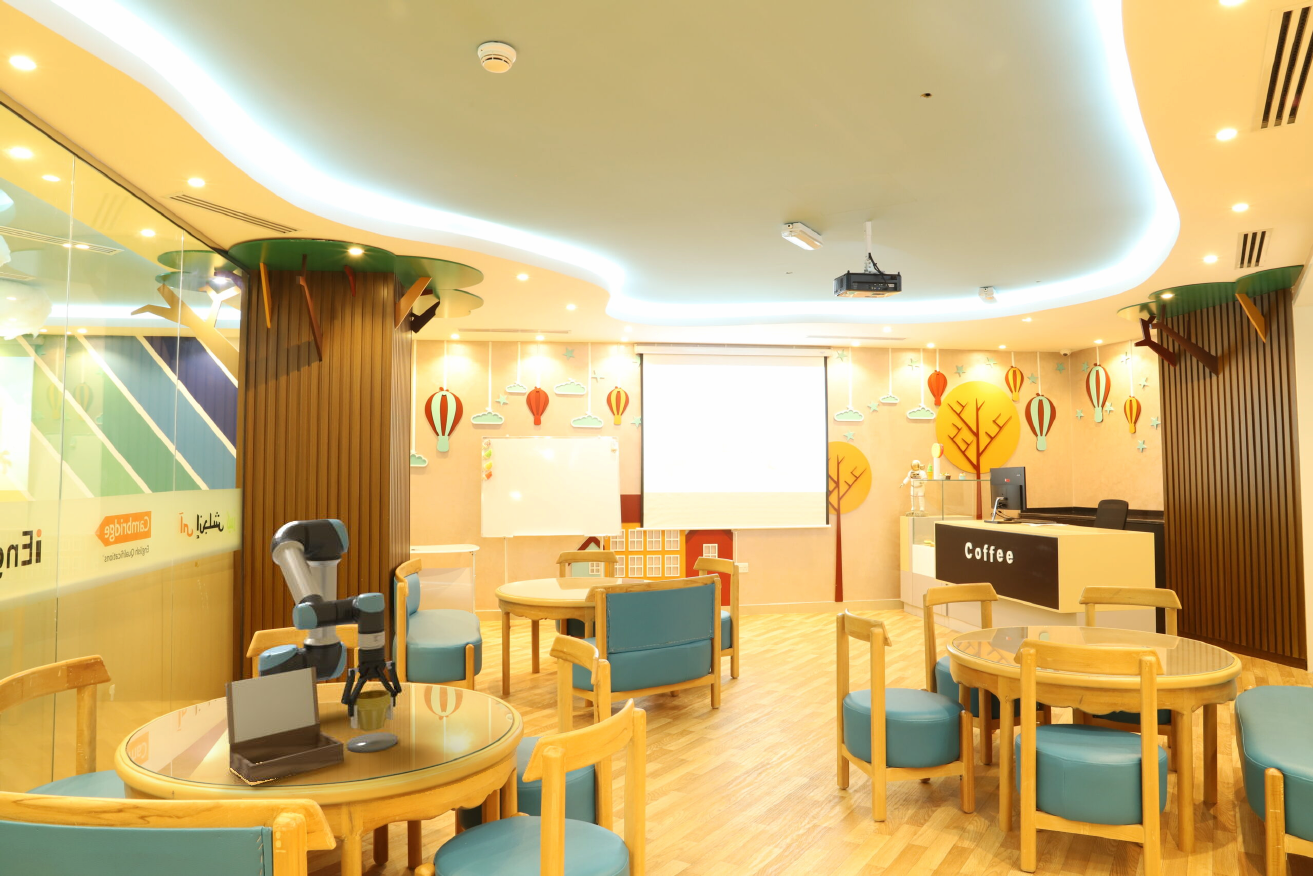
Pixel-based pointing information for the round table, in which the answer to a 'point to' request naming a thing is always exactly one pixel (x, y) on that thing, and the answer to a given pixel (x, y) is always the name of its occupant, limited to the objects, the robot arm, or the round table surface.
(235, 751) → the cold frame
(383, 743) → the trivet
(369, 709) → the plant pot
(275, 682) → the lid
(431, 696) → the round table surface
